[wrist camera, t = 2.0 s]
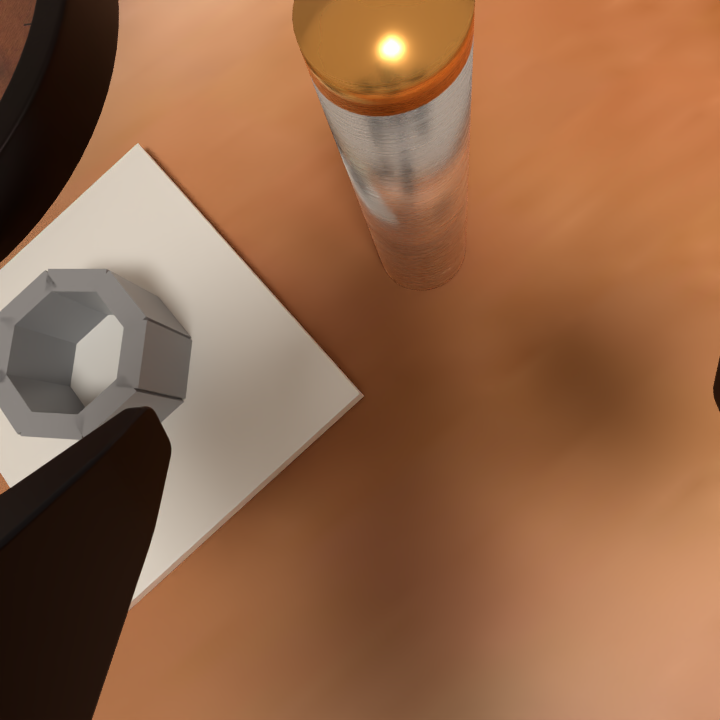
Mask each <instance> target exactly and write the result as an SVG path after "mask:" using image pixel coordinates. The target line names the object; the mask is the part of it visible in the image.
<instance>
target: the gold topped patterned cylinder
mask: <svg viewBox="0 0 720 720" xmlns="http://www.w3.org/2000/svg"><path fill="white" fill-rule="evenodd" d="M474 10H475V0H294V5H293V18H292V20H293V28H294V32H295V36H296V39H297V42H298V45H299V47H300V50H301V52H302V55H303V58H304V60H305V63H306V66H307V68H308V71H309V73H310V76H311V79H312V81H313V84H314V86H315V89H316V92H317V94H318V97H319V100H320V102H321V105H322V107H323V110H324V113H325V115H326V118H327V120H328V123H329V126H330V128H331V131H332V134H333V136H334V139H335V141H336V144H337V147H338V149H339V152H340V154H341V157H342V160H343V162H344V165H345V168H346V170H347V173H348V175H349V178H350V181H351V183H352V186H353V188H354V191H355V194H356V196H357V199H358V202H359V204H360V207H361V209H362V212H363V215H364V217H365V220H366V222H367V225H368V228H369V230H370V233H371V236H372V238H373V241H374V243H375V246H376V249H377V251H378V254H379V256H380V259H381V262H382V264H383V267H384V269H385V271H386V272H387V274H388V275H389V276H390V278H391V279H393V280H394V281H395V282H396V283H398V284H399V285H401V286H403V287H405V288H408V289H412V290H429V289H434V288H437V287H439V286H441V285H443V284H445V283H446V282H448V281H449V280H450V279H452V278H453V277H454V275H455V274H456V273H457V272H458V270H459V269H460V267H461V265H462V263H463V260H464V256H465V244H466V218H467V192H468V166H469V140H470V114H471V88H472V62H473V36H474Z"/></svg>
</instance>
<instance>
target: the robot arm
mask: <svg viewBox="0 0 720 720" xmlns="http://www.w3.org/2000/svg"><path fill="white" fill-rule="evenodd" d="M713 393H714V399H715V402H716V404H717V407H718V409H719V411H720V358H719V363H718V367H717V372H716V376H715V381H714V386H713ZM171 451H172V448H171V443H170V440H169V437H168V436H167V434H166V432H165V430H164V428H163V426H162V424H161V422H160V420H159V418H158V416H157V414H156V412H155V411H154V409H152V408H151V407H149V406H139V407H130V408H126V409H124V410H122V411H121V412H120V413H118V414H117V415H115V416H114V417H112V418H111V419H109V420H108V421H107V422H105V423H104V424H102V425H101V426H99V427H98V428H96V429H95V430H94V431H92V432H91V433H89V434H88V435H86V436H85V437H83V438H82V439H80V440H79V441H78V442H76V443H75V444H73V445H72V446H70V447H69V448H67V449H66V450H65V451H63V452H62V453H60V454H59V455H57V456H56V457H54V458H53V459H52V460H50V461H49V462H47V463H46V464H44V465H43V466H41V467H40V468H38V469H37V470H36V471H34V472H33V473H31V474H30V475H28V476H27V477H25V478H24V479H23V480H21V481H20V482H18V483H17V484H15V485H14V486H12V487H11V488H10V489H8V490H7V491H5V492H4V493H2V494H1V495H0V720H92V718H93V715H94V712H95V709H96V706H97V703H98V700H99V697H100V694H101V691H102V688H103V685H104V682H105V679H106V676H107V673H108V670H109V667H110V664H111V661H112V658H113V655H114V652H115V649H116V646H117V643H118V640H119V637H120V634H121V631H122V628H123V625H124V622H125V619H126V616H127V613H128V610H129V607H130V604H131V601H132V598H133V595H134V592H135V589H136V586H137V583H138V580H139V577H140V574H141V571H142V568H143V565H144V562H145V559H146V556H147V553H148V550H149V547H150V544H151V541H152V537H153V534H154V530H155V526H156V522H157V518H158V514H159V509H160V504H161V500H162V495H163V491H164V486H165V481H166V477H167V472H168V468H169V463H170V458H171Z"/></svg>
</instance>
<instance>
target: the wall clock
mask: <svg viewBox="0 0 720 720" xmlns="http://www.w3.org/2000/svg"><path fill="white" fill-rule="evenodd" d="M118 28H119V6H118V0H0V262H1V261H2V260H3V259H4V258H6V257H7V256H8V255H9V254H10V253H11V252H12V251H13V250H14V249H15V248H16V246H17V245H18V244H19V243H20V242H21V241H22V240H23V239H24V238H25V237H26V236H27V235H28V234H29V232H30V231H31V230H32V229H33V228H34V227H35V225H36V224H37V223H38V222H39V221H40V220H41V218H42V217H43V216H44V214H45V213H46V212H47V210H48V209H49V208H50V206H51V205H52V204H53V202H54V201H55V200H56V198H57V197H58V195H59V194H60V192H61V191H62V189H63V188H64V186H65V185H66V183H67V182H68V180H69V178H70V177H71V175H72V173H73V171H74V170H75V168H76V166H77V164H78V163H79V161H80V159H81V157H82V155H83V153H84V151H85V149H86V147H87V145H88V143H89V141H90V139H91V137H92V134H93V132H94V129H95V127H96V124H97V122H98V119H99V117H100V114H101V111H102V108H103V105H104V102H105V99H106V96H107V93H108V89H109V85H110V81H111V77H112V73H113V68H114V62H115V56H116V50H117V39H118Z"/></svg>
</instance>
